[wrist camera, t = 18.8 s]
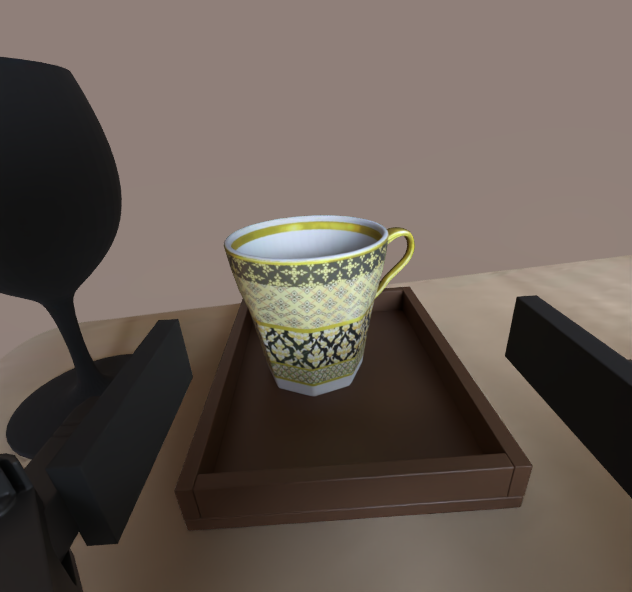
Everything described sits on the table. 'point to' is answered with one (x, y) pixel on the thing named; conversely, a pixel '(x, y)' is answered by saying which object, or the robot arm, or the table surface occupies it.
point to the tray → (350, 434)
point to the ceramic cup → (313, 293)
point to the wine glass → (54, 226)
